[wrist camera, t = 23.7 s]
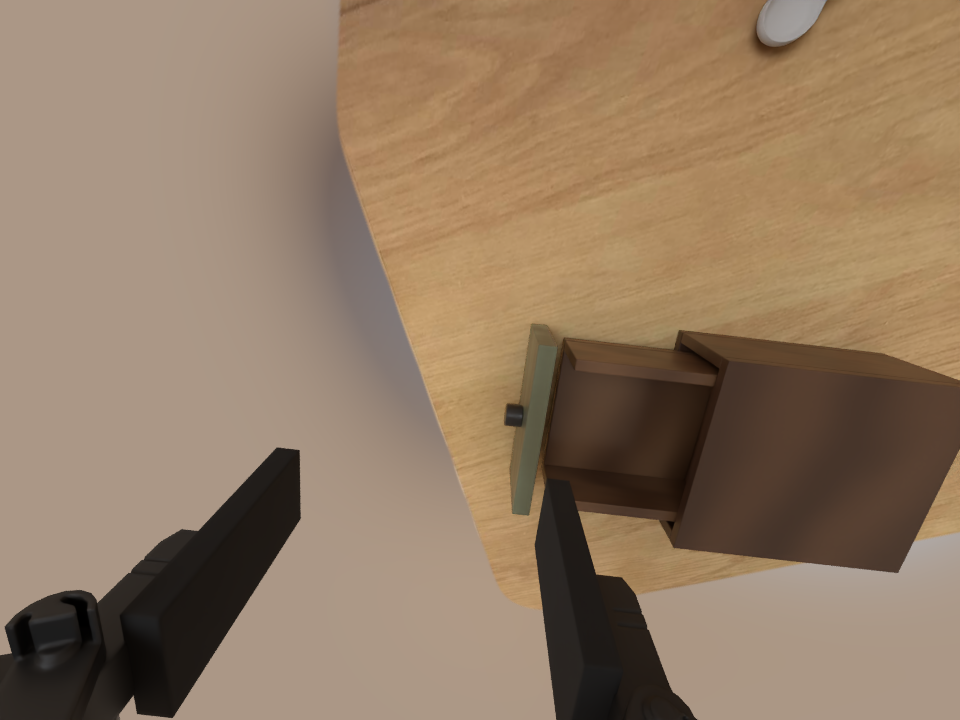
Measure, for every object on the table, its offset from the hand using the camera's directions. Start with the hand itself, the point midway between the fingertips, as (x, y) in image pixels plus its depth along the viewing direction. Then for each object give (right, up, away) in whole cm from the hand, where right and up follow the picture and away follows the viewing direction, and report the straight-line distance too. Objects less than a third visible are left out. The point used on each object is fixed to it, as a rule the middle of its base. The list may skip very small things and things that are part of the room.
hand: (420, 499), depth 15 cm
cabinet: (+24, 0, +21) cm, 32 cm away
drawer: (+12, +1, +20) cm, 23 cm away
